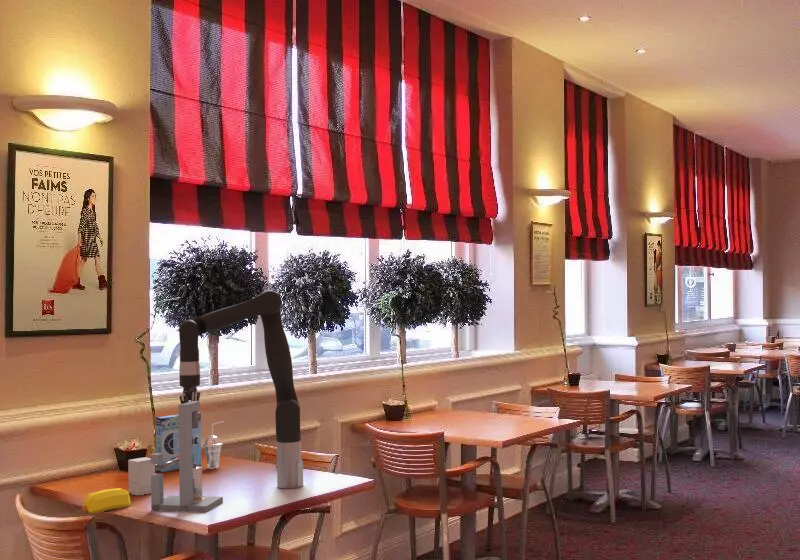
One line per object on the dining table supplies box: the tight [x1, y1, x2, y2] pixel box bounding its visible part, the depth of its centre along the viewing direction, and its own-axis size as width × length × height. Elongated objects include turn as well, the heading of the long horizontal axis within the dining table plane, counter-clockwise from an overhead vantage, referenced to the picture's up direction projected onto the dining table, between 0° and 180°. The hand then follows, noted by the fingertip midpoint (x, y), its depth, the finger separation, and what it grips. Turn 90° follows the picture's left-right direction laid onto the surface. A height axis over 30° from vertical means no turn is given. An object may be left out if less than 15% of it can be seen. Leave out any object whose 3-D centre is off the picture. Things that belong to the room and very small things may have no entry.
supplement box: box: [127, 456, 156, 497], centre depth 321 cm, size 7×7×13 cm
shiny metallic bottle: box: [193, 463, 203, 501], centre depth 300 cm, size 5×5×12 cm
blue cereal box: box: [155, 412, 203, 473], centre depth 369 cm, size 20×5×23 cm, turn 134°
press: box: [150, 400, 224, 513], centre depth 299 cm, size 20×14×36 cm
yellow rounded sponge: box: [81, 487, 132, 515], centre depth 297 cm, size 18×7×8 cm
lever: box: [155, 455, 179, 472], centre depth 304 cm, size 3×20×3 cm, turn 168°
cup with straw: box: [202, 420, 225, 470], centre depth 368 cm, size 8×9×20 cm
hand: (190, 419), depth 321 cm, fingers closed
